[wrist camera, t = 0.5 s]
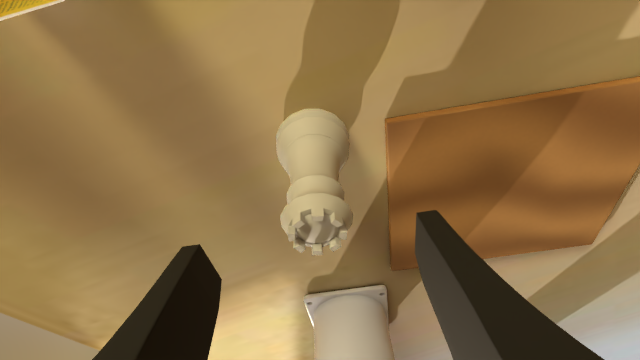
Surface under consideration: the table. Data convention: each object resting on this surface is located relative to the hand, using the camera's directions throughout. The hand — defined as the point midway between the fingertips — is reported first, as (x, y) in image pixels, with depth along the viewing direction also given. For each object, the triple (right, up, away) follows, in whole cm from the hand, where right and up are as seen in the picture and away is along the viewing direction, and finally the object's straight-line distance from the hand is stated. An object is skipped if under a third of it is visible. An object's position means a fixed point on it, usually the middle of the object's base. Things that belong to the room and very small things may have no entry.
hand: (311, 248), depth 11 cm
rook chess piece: (0, +5, +9) cm, 10 cm away
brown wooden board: (+14, +2, +13) cm, 19 cm away
